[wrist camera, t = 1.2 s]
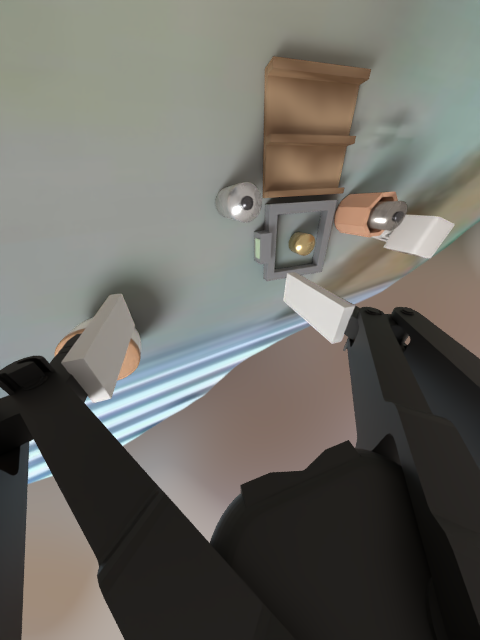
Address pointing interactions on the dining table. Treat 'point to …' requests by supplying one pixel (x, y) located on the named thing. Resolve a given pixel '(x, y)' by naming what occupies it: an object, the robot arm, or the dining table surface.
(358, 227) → the octagonal tan cylinder
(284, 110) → the trough board
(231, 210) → the cell
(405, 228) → the security camera
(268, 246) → the cradle
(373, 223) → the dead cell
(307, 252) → the gold ball
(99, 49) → the dining table surface
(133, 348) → the lidded jar
